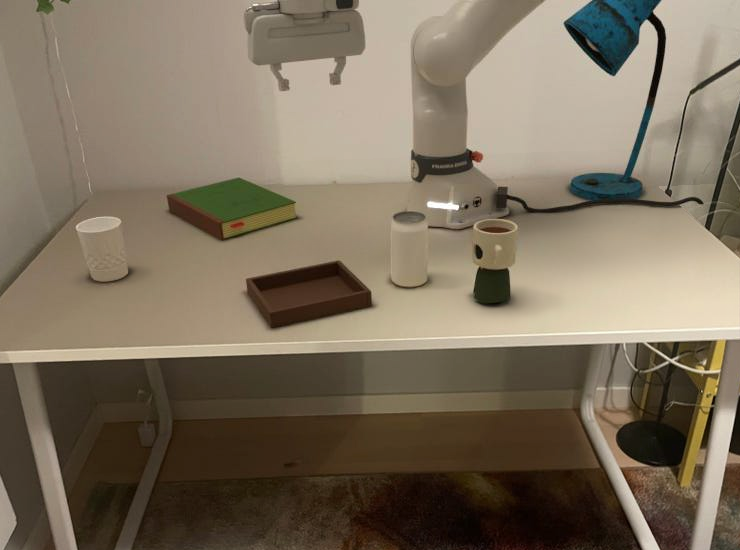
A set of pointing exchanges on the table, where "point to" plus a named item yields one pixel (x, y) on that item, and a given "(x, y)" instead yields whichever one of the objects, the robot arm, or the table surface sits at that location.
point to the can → (409, 249)
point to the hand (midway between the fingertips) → (310, 87)
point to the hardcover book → (231, 208)
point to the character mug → (493, 258)
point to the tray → (307, 293)
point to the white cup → (103, 248)
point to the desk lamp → (610, 51)
